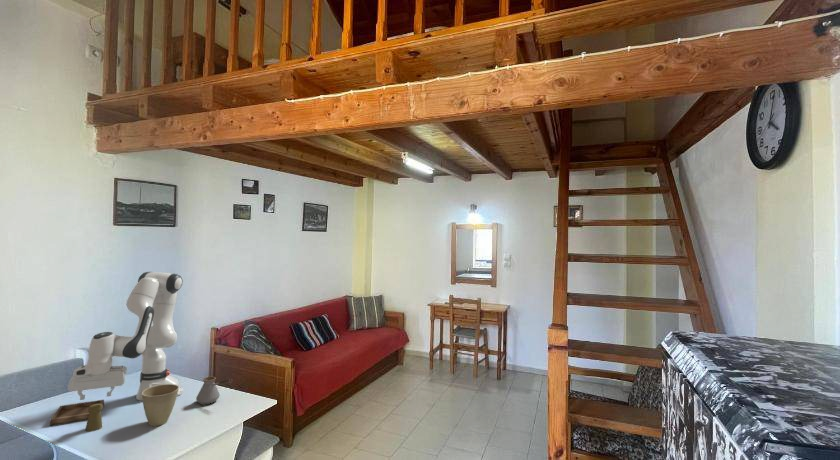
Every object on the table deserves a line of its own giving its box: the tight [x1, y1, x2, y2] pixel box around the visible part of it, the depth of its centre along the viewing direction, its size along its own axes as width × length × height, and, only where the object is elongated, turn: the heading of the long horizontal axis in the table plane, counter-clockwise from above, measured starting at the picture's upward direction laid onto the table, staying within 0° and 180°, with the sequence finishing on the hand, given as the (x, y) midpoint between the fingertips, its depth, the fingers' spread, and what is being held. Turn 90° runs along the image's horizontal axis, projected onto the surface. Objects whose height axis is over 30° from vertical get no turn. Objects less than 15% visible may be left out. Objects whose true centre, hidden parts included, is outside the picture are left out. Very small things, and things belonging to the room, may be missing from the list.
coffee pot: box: [195, 376, 232, 406], centre depth 201 cm, size 21×12×15 cm, turn 72°
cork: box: [84, 404, 104, 432], centre depth 169 cm, size 6×6×11 cm
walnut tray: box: [49, 399, 105, 427], centre depth 181 cm, size 17×17×3 cm
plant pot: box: [142, 384, 180, 427], centre depth 177 cm, size 15×15×16 cm
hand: (95, 397), depth 169 cm, fingers open, 8 cm apart
